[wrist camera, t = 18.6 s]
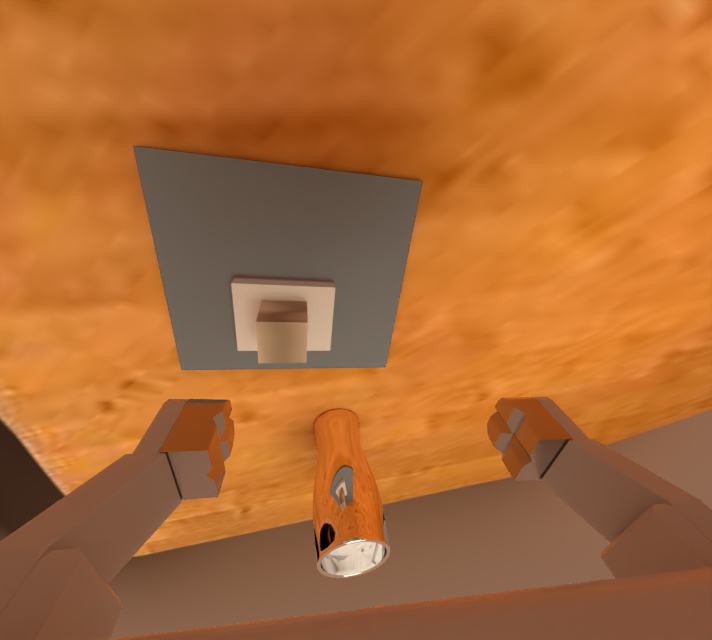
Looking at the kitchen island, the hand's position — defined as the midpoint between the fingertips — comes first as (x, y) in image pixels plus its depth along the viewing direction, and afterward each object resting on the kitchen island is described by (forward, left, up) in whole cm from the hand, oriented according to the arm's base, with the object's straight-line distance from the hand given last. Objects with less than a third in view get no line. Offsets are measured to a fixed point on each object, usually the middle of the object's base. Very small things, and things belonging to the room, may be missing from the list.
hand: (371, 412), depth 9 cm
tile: (-1, +7, -19) cm, 20 cm away
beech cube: (+3, +7, -19) cm, 20 cm away
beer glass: (-3, +24, -21) cm, 32 cm away
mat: (+3, +4, -21) cm, 21 cm away
